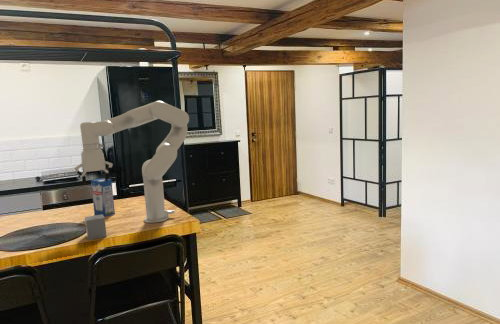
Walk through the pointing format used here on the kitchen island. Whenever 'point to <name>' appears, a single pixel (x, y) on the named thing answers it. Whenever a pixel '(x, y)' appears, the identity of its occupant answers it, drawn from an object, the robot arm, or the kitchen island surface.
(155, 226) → the kitchen island surface
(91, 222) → the gray cube
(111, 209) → the milk carton
